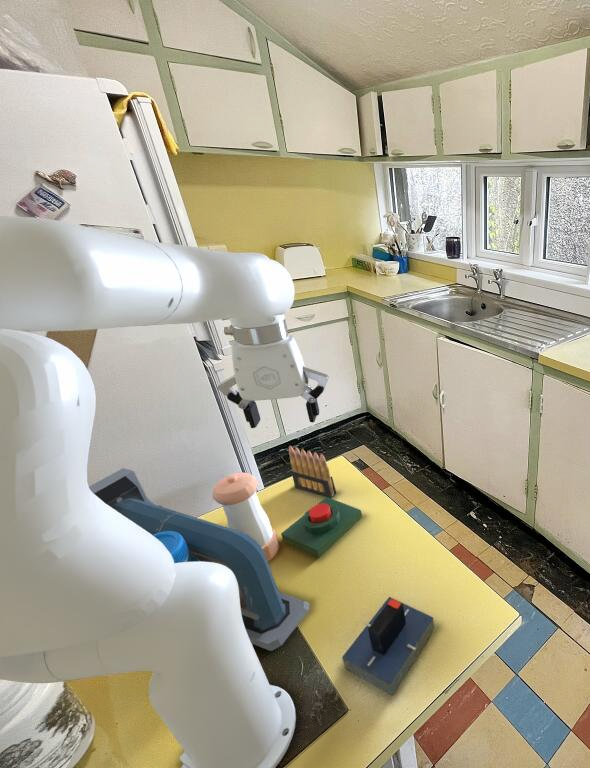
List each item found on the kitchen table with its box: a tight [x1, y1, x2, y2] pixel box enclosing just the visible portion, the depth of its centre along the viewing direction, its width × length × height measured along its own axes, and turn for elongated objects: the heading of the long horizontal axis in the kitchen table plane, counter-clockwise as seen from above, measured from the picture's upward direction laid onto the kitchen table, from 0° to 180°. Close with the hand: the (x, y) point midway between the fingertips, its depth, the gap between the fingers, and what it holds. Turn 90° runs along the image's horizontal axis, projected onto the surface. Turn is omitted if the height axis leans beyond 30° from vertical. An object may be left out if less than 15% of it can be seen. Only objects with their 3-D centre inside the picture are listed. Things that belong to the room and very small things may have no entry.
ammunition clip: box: [288, 445, 337, 499], centre depth 95 cm, size 11×2×12 cm, turn 71°
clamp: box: [88, 467, 311, 652], centre depth 68 cm, size 35×9×21 cm, turn 73°
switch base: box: [341, 596, 435, 696], centre depth 65 cm, size 11×10×3 cm
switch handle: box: [368, 598, 406, 655], centre depth 63 cm, size 6×2×5 cm, turn 156°
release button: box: [309, 503, 331, 523], centre depth 86 cm, size 4×4×2 cm
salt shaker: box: [211, 472, 280, 562], centre depth 78 cm, size 7×7×19 cm
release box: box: [280, 497, 363, 559], centre depth 87 cm, size 12×10×4 cm
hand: (285, 421), depth 75 cm, fingers open, 9 cm apart
